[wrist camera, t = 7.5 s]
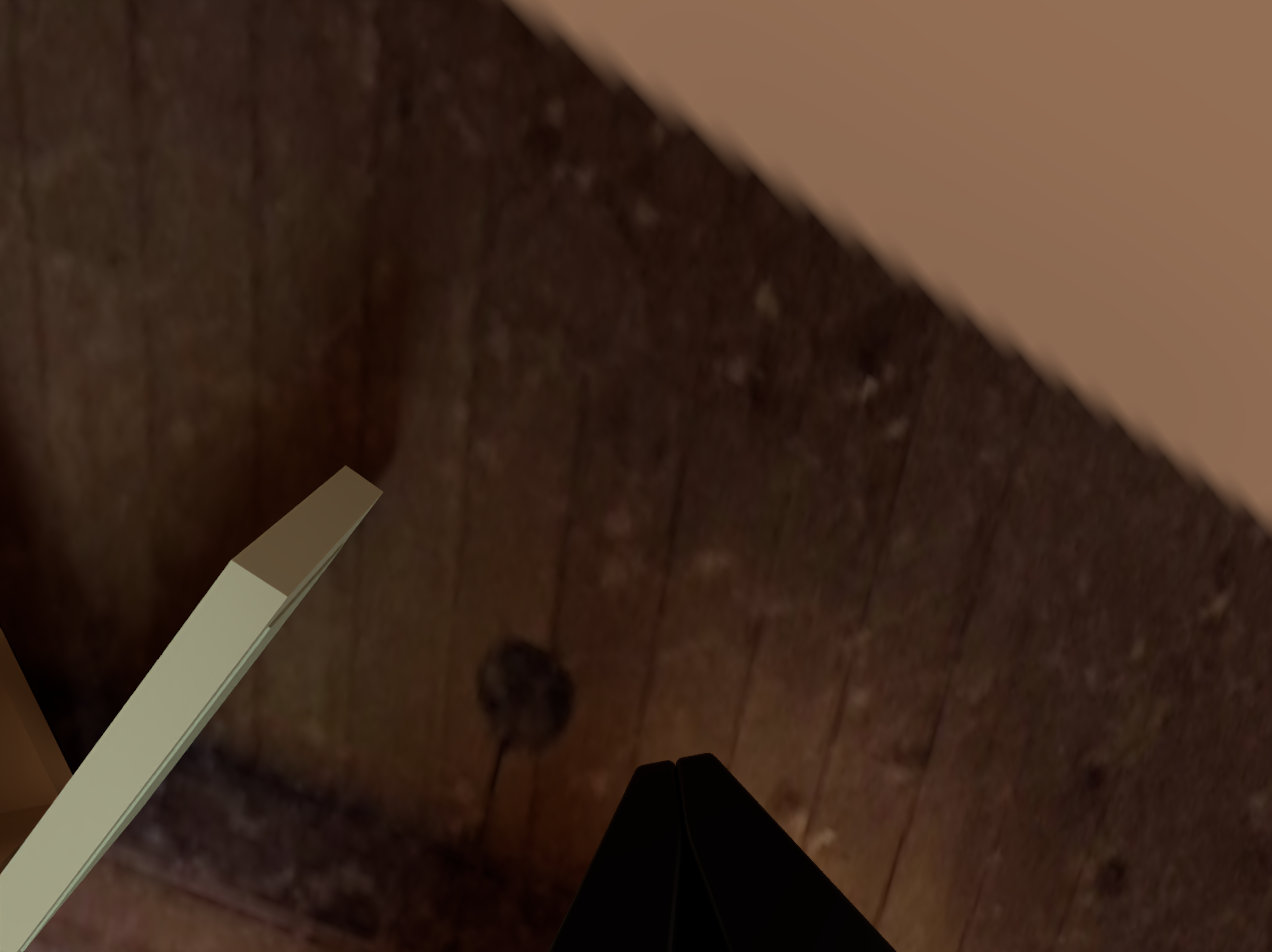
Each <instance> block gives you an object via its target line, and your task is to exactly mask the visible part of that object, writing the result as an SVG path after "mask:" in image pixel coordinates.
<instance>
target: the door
mask: <svg viewBox="0 0 1272 952" xmlns="http://www.w3.org/2000/svg"><path fill="white" fill-rule="evenodd" d="M382 493H383V491H381V490H380V489H379V488H377V487H376V486H374V485H373V484H371V483H370V482H369V481H367V480H366V479H364V478H363V477H362V476H360V475H359V474H357V473H356V472H354V471H353V470H352V469H350V468H349V467H347V466H344V467H343V468H342V469H341V470H340V471H338V472H337V473H336V474H335V475H334V476H332V477H331V478H330V479H329V480H327V481H326V482H325V483H324V484H323V485H321V486H320V487H319V488H318V489H317V490H315V491H314V492H313V493H312V494H311V495H309V496H308V497H307V498H306V499H304V500H303V501H302V502H301V503H300V504H298V505H297V506H296V507H295V508H294V509H292V510H291V511H290V512H289V513H287V514H286V515H285V516H284V517H283V518H281V519H280V520H279V521H278V522H277V523H275V524H274V525H273V526H272V527H271V528H269V529H268V530H267V531H266V532H264V533H263V534H262V535H261V536H260V537H258V538H257V539H256V540H255V541H254V542H252V543H251V544H250V545H249V546H248V547H246V548H245V549H244V550H243V551H241V552H240V553H239V554H238V555H237V556H235V557H234V558H233V559H232V560H231V561H230V562H229V564H228V565H227V566H226V568H225V569H224V570H223V572H222V573H221V574H220V576H219V577H218V579H217V580H216V581H215V583H214V584H213V585H212V587H211V588H210V589H209V591H208V592H207V594H206V595H205V596H204V598H203V599H202V600H201V602H200V603H199V604H198V606H197V607H196V609H195V610H194V611H193V613H192V614H191V615H190V617H189V618H188V619H187V621H186V622H185V624H184V625H183V626H182V628H181V629H180V630H179V632H178V633H177V634H176V636H175V637H174V639H173V640H172V641H171V643H170V644H169V645H168V647H167V648H166V649H165V651H164V652H163V654H162V655H161V656H160V658H159V659H158V660H157V662H156V663H155V664H154V666H153V667H152V669H151V670H150V671H149V673H148V674H147V675H146V677H145V678H144V679H143V681H142V682H141V684H140V685H139V686H138V688H137V689H136V690H135V692H134V693H133V694H132V696H131V697H130V699H129V700H128V701H127V703H126V704H125V705H124V707H123V708H122V709H121V711H120V712H119V714H118V715H117V716H116V718H115V719H114V720H113V722H112V723H111V724H110V726H109V727H108V729H107V730H106V731H105V733H104V734H103V735H102V737H101V738H100V739H99V741H98V742H97V744H96V745H95V746H94V748H93V749H92V750H91V752H90V753H89V754H88V756H87V757H86V759H85V760H84V761H83V763H82V764H81V765H80V767H79V768H78V770H77V771H76V772H75V774H74V775H73V776H72V778H71V779H70V780H69V782H68V783H67V785H66V786H65V787H64V789H63V790H62V791H61V793H60V794H59V795H58V797H57V798H56V800H55V801H54V802H53V804H52V805H51V806H50V808H49V809H48V810H47V812H46V813H45V815H44V816H43V817H42V819H41V820H40V821H39V823H38V824H37V825H36V827H35V828H34V830H33V831H32V832H31V834H30V835H29V836H28V838H27V839H26V840H25V842H24V843H23V845H22V846H21V847H20V849H19V850H18V851H17V853H16V854H15V855H14V857H13V858H12V860H11V861H10V862H9V864H8V865H7V866H6V868H5V869H4V870H3V872H2V873H1V875H0V952H23V951H24V950H25V949H26V948H27V946H28V945H29V944H30V943H31V942H32V940H33V939H34V938H35V937H36V936H37V934H38V933H39V932H40V931H41V930H42V928H43V927H44V926H45V925H46V923H47V922H48V921H49V920H50V919H51V917H52V916H53V915H54V914H55V913H56V911H57V910H58V909H59V908H60V907H61V905H62V904H63V903H64V902H65V901H66V899H67V898H68V897H69V896H70V894H71V893H72V892H73V891H74V890H75V888H76V887H77V886H78V885H79V884H80V882H81V881H82V880H83V879H84V878H85V876H86V875H87V874H88V873H89V872H90V870H91V869H92V868H93V867H94V865H95V864H96V863H97V862H98V861H99V859H100V858H101V857H102V856H103V855H104V853H105V852H106V851H107V850H108V849H109V847H110V846H111V845H112V844H113V843H114V841H115V840H116V839H117V838H118V836H119V835H120V834H121V833H122V832H123V830H124V829H125V828H126V827H127V826H128V824H129V823H130V822H131V821H132V820H133V818H134V817H135V816H136V815H137V814H138V812H139V811H140V810H141V809H142V807H143V806H144V805H145V803H146V802H147V801H148V799H149V798H150V797H151V796H152V794H153V793H154V792H155V790H156V789H157V788H158V786H159V785H160V784H161V783H162V781H163V780H164V779H165V777H166V776H167V775H168V773H169V772H170V771H171V770H172V768H173V767H174V766H175V764H176V763H177V762H178V760H179V759H180V758H181V757H182V755H183V754H184V753H185V751H186V750H187V749H188V747H189V746H190V745H191V743H192V742H193V741H194V740H195V738H196V737H197V736H198V734H199V733H200V732H201V730H202V729H203V728H204V727H205V725H206V724H207V723H208V721H209V720H210V719H211V717H212V716H213V715H214V714H215V712H216V711H217V710H218V708H219V707H220V706H221V704H222V703H223V702H224V701H225V699H226V698H227V697H228V695H229V694H230V693H231V691H232V690H233V689H234V688H235V686H236V685H237V684H238V682H239V681H240V680H241V678H242V677H243V676H244V675H245V673H246V672H247V671H248V669H249V668H250V667H251V665H252V664H253V663H254V662H255V660H256V659H257V658H258V656H259V655H260V654H261V652H262V651H263V650H264V649H265V647H266V646H267V645H268V643H269V642H270V641H271V639H272V638H273V637H274V636H275V634H276V633H277V632H278V630H279V629H280V628H281V626H282V625H283V624H284V623H285V621H286V620H287V619H288V617H289V616H290V615H291V613H292V612H293V611H294V610H295V608H296V607H297V606H298V604H299V603H300V602H301V600H302V599H303V598H304V597H305V595H306V594H307V593H308V591H309V590H310V589H311V587H312V586H313V585H314V584H315V582H316V581H317V580H318V578H319V577H320V576H321V574H322V573H323V572H324V571H325V569H326V568H327V567H328V565H329V564H330V563H331V561H332V560H333V559H334V558H335V556H336V555H337V554H338V552H339V551H340V550H341V548H342V547H343V546H344V545H343V544H344V543H345V541H346V540H347V539H348V538H349V536H350V535H351V534H352V532H353V531H354V530H355V528H356V527H357V526H358V525H359V523H360V522H361V521H362V519H363V518H364V517H365V515H366V514H367V513H368V511H369V510H370V509H371V508H372V506H373V505H374V504H375V502H376V501H377V500H378V498H379V497H380V496H381V495H382Z"/></svg>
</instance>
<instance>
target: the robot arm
mask: <svg viewBox="0 0 1272 952" xmlns="http://www.w3.org/2000/svg"><path fill="white" fill-rule="evenodd" d="M548 952H896V951H895V949H894V948H893V947H892V946H891V945H890V944H889V943H888V942H887V941H886V940H885V939H884V938H883V937H882V935H881V934H880V933H879V932H878V931H877V930H876V929H875V928H874V927H873V926H872V925H871V924H870V923H869V921H868V920H867V919H866V918H865V917H864V916H863V915H862V914H861V913H860V912H859V911H858V910H857V909H856V907H855V906H854V905H853V904H852V903H851V902H850V901H849V900H848V899H847V898H846V897H845V896H844V895H843V893H842V892H841V891H840V890H839V889H838V888H837V887H836V886H835V885H834V884H833V883H832V882H831V880H830V879H829V878H828V877H827V876H826V875H825V874H824V873H823V872H822V871H821V870H820V869H819V868H818V866H817V865H816V864H815V863H814V862H813V861H812V860H811V859H810V858H809V857H808V856H807V855H806V854H805V852H804V851H803V850H802V849H801V848H800V847H799V846H798V845H797V844H796V843H795V842H794V841H793V840H792V838H791V837H790V836H789V835H788V834H787V833H786V832H785V831H784V830H783V829H782V828H781V827H780V826H779V824H778V823H777V822H776V821H775V820H774V819H773V818H772V817H771V816H770V815H769V814H768V813H767V812H766V810H765V809H764V808H763V807H762V806H761V805H760V804H759V803H758V802H757V801H756V800H755V799H754V798H753V796H752V795H751V794H750V793H749V792H748V791H747V790H746V789H745V788H744V787H743V786H742V785H741V783H740V782H739V781H738V780H737V779H736V778H735V777H734V776H733V775H732V774H731V773H730V772H729V771H728V769H727V768H726V767H725V766H724V765H723V764H722V763H721V762H720V761H719V760H718V759H717V758H716V757H715V756H714V755H713V754H711V753H704V754H698V755H693V756H688V757H682V758H679V759H678V760H677V762H676V767H675V764H674V763H673V762H672V761H670V760H666V761H661V762H656V763H650V764H645V765H641V766H639V767H638V768H637V769H636V770H635V772H634V774H633V776H632V778H631V780H630V782H629V784H628V786H627V788H626V790H625V793H624V795H623V797H622V799H621V801H620V803H619V805H618V807H617V809H616V811H615V813H614V815H613V817H612V819H611V822H610V824H609V826H608V828H607V830H606V832H605V834H604V836H603V838H602V840H601V842H600V844H599V846H598V849H597V851H596V853H595V855H594V857H593V859H592V861H591V863H590V865H589V867H588V869H587V871H586V873H585V876H584V878H583V880H582V882H581V884H580V886H579V888H578V890H577V892H576V894H575V896H574V898H573V900H572V902H571V905H570V907H569V909H568V911H567V913H566V915H565V917H564V919H563V921H562V923H561V925H560V927H559V929H558V932H557V934H556V936H555V938H554V940H553V942H552V944H551V946H550V948H549V950H548Z"/></svg>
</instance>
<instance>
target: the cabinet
mask: <svg viewBox="0 0 1272 952" xmlns="http://www.w3.org/2000/svg"><path fill="white" fill-rule="evenodd" d="M72 776H73V775H72V773H71V771H70V769H69V767H68V765H67V763H66V761H65V759H64V757H63V755H62V753H61V750H60V748H59V746H58V744H57V742H56V740H55V738H54V736H53V734H52V732H51V730H50V728H49V726H48V724H47V722H46V720H45V718H44V716H43V714H42V711H41V709H40V707H39V705H38V703H37V701H36V699H35V697H34V695H33V693H32V691H31V689H30V687H29V685H28V683H27V681H26V679H25V677H24V675H23V672H22V670H21V668H20V666H19V664H18V662H17V660H16V658H15V656H14V654H13V652H12V650H11V648H10V646H9V644H8V642H7V640H6V638H5V636H4V633H3V631H2V629H1V627H0V875H1V873H2V872H3V870H4V869H5V868H6V866H7V865H8V864H9V862H10V861H11V860H12V858H13V857H14V855H15V854H16V853H17V851H18V850H19V849H20V847H21V846H22V845H23V843H24V842H25V840H26V839H27V838H28V836H29V835H30V834H31V832H32V831H33V830H34V828H35V827H36V825H37V824H38V823H39V821H40V820H41V819H42V817H43V816H44V815H45V813H46V812H47V810H48V809H49V808H50V806H51V805H52V804H53V802H54V801H55V800H56V798H57V797H58V795H59V794H60V793H61V791H62V790H63V789H64V787H65V786H66V785H67V783H68V782H69V780H70V779H71V778H72Z"/></svg>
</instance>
